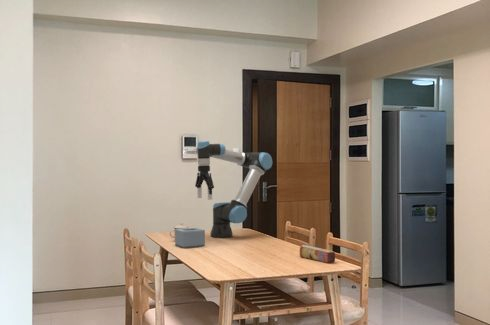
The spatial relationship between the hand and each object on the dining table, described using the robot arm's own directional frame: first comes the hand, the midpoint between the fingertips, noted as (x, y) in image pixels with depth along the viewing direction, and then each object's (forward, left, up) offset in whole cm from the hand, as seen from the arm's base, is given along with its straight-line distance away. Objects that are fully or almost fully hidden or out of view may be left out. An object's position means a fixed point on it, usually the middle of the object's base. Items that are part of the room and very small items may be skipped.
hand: (204, 198), depth 325 cm
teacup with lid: (+12, -11, -28) cm, 33 cm away
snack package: (-25, +80, -28) cm, 89 cm away
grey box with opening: (+14, +9, -28) cm, 32 cm away
